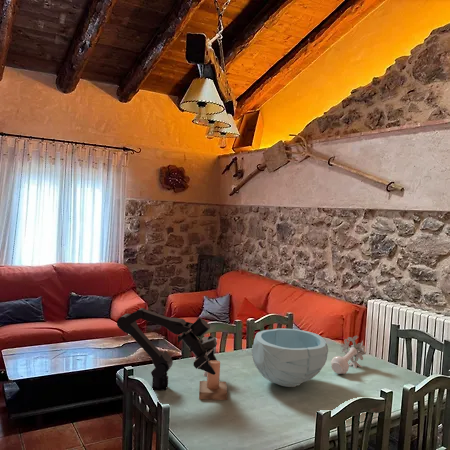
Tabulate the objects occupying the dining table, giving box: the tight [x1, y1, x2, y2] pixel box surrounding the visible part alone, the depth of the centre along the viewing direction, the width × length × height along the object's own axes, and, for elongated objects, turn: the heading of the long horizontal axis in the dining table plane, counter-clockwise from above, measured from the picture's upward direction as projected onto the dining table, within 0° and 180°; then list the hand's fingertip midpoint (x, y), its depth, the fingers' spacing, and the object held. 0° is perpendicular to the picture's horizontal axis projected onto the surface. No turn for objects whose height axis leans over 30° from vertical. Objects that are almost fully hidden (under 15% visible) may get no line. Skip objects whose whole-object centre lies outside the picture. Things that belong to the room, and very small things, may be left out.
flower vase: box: [330, 334, 367, 375], centre depth 229 cm, size 13×18×25 cm
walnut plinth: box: [198, 380, 228, 401], centre depth 191 cm, size 12×12×3 cm
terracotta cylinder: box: [206, 360, 221, 389], centre depth 191 cm, size 6×6×11 cm
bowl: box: [251, 327, 329, 388], centre depth 206 cm, size 35×35×22 cm
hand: (216, 370), depth 191 cm, fingers open, 9 cm apart
